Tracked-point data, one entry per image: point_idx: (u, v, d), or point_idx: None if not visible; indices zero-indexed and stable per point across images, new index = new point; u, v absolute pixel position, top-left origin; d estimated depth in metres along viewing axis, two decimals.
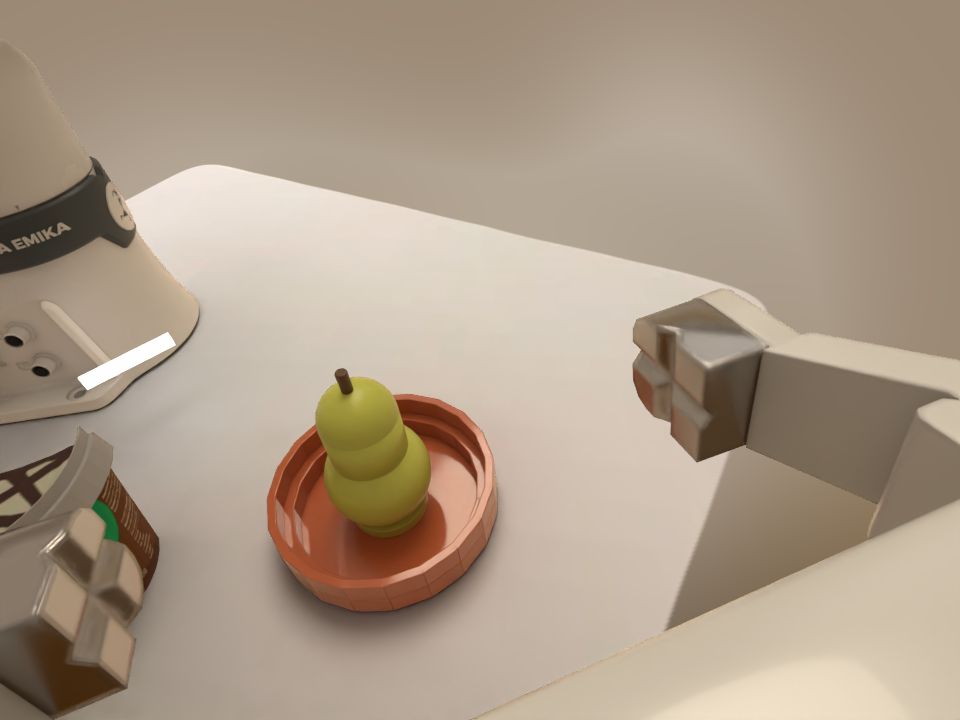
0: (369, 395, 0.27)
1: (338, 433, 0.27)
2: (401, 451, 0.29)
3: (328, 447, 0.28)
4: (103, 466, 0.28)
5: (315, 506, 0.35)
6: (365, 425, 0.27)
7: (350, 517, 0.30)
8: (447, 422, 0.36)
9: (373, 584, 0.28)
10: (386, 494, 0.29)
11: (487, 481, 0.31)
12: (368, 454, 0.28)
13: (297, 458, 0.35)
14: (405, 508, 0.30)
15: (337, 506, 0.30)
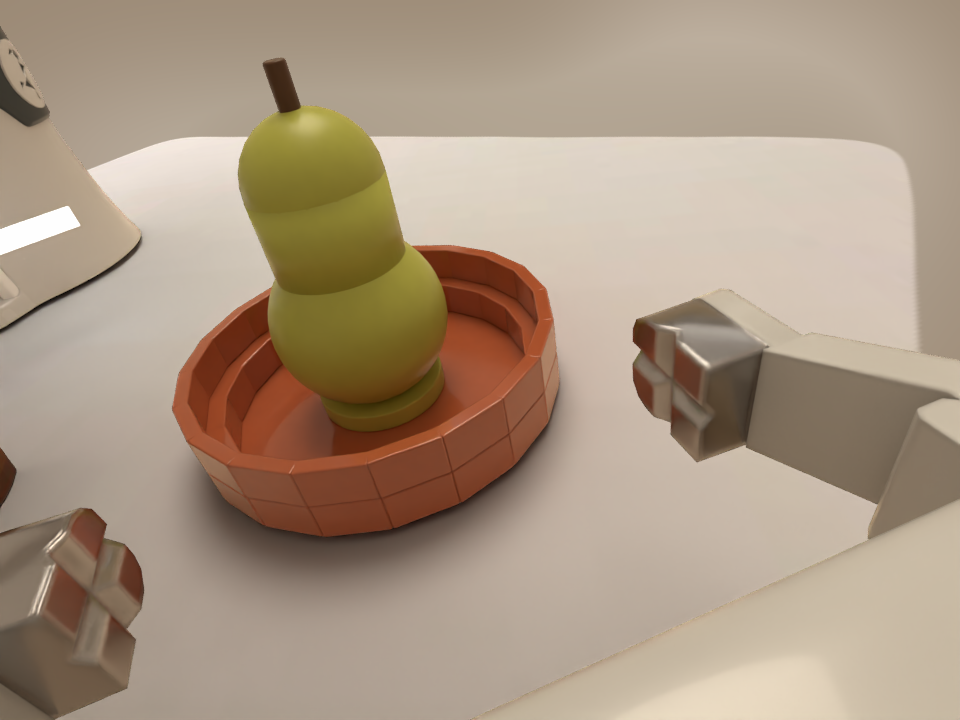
0: (329, 115, 0.15)
1: (273, 173, 0.15)
2: (393, 245, 0.17)
3: (260, 217, 0.15)
4: None
5: (266, 405, 0.22)
6: (322, 156, 0.15)
7: (311, 375, 0.17)
8: (467, 279, 0.24)
9: (349, 462, 0.15)
10: (369, 318, 0.16)
11: (542, 314, 0.19)
12: (331, 223, 0.15)
13: (237, 332, 0.22)
14: (406, 352, 0.17)
15: (288, 358, 0.17)
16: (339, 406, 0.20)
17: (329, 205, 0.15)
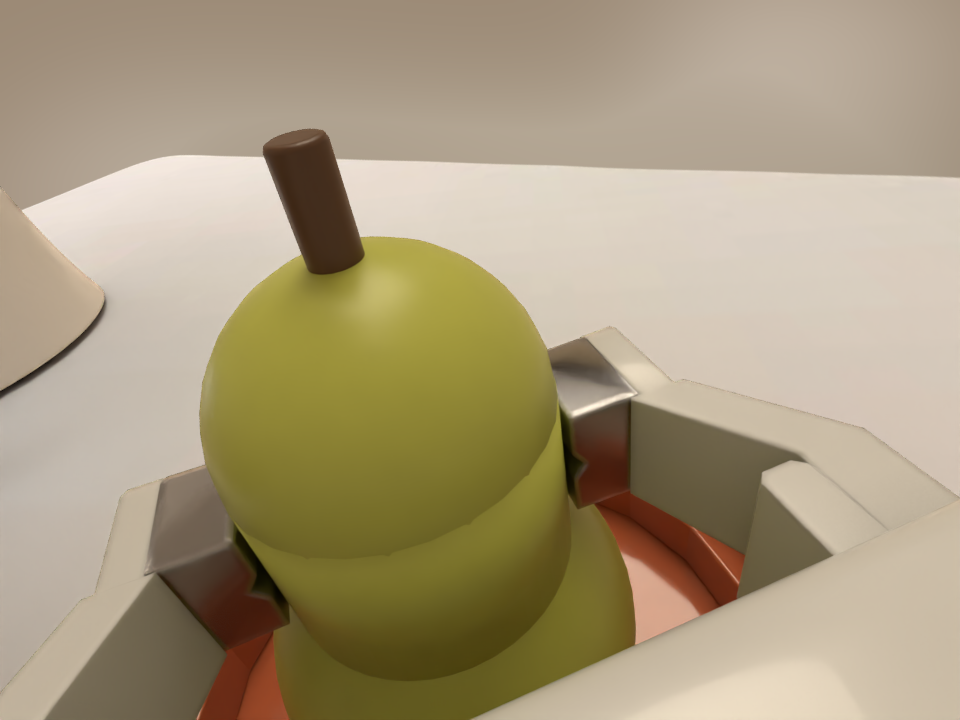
0: (441, 277, 0.06)
1: (293, 467, 0.05)
2: (563, 539, 0.07)
3: (255, 544, 0.06)
4: None
5: (269, 709, 0.12)
6: (434, 415, 0.05)
7: None
8: None
9: None
10: None
11: None
12: (448, 568, 0.06)
13: None
14: None
15: None
16: None
17: (447, 535, 0.05)
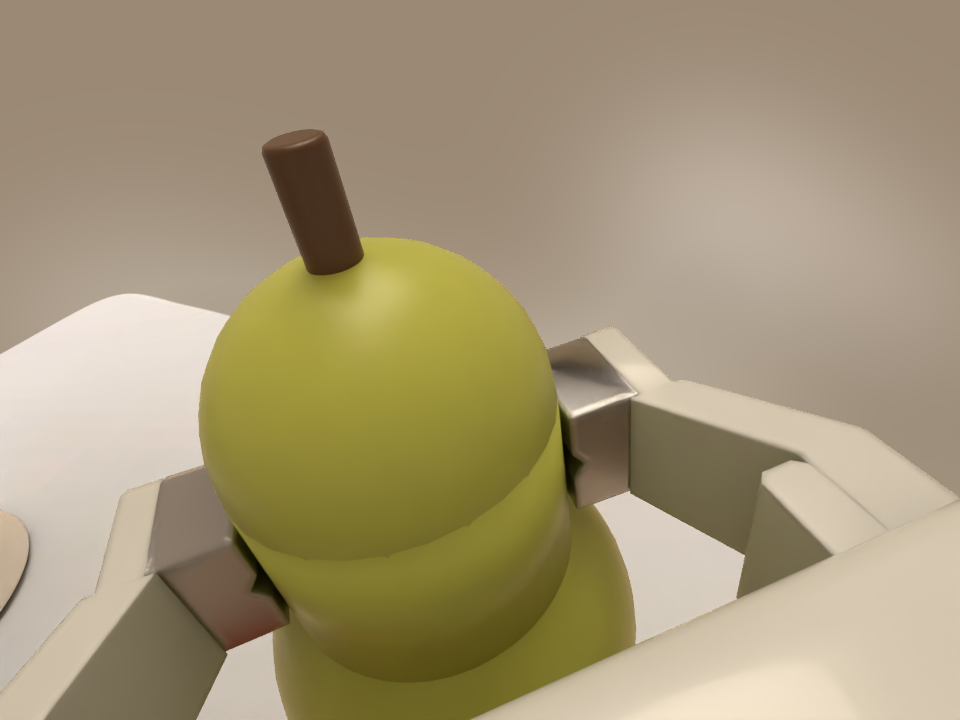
0: (441, 278, 0.06)
1: (292, 469, 0.05)
2: (563, 541, 0.07)
3: (255, 545, 0.06)
4: None
5: None
6: (434, 417, 0.05)
7: None
8: None
9: None
10: None
11: None
12: (448, 570, 0.06)
13: None
14: None
15: None
16: None
17: (447, 537, 0.05)
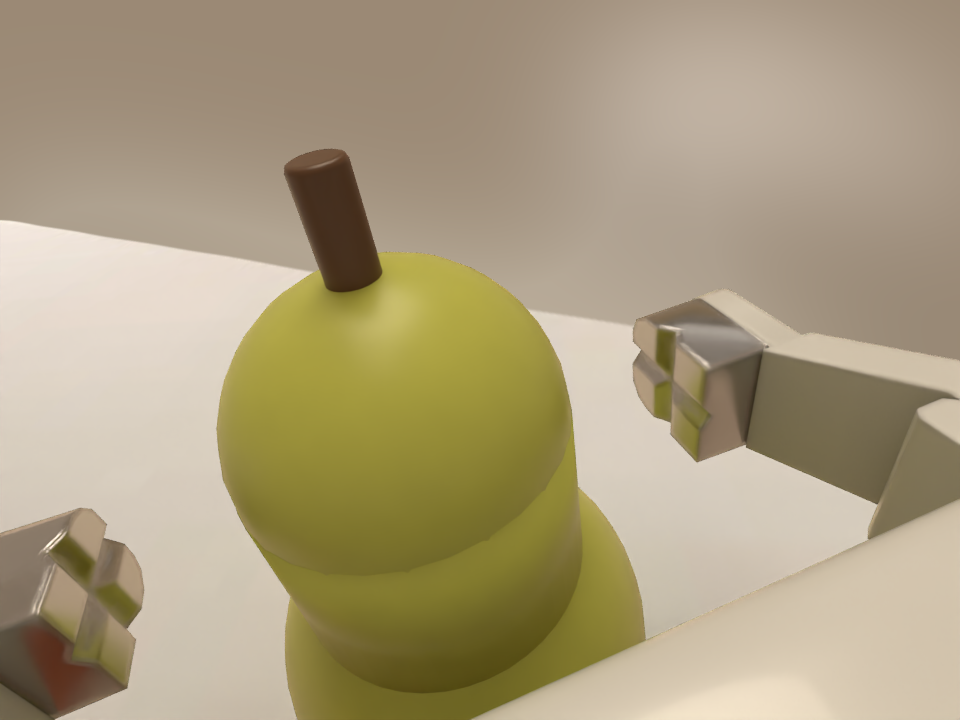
0: (459, 294, 0.06)
1: (314, 485, 0.05)
2: (576, 551, 0.07)
3: (274, 559, 0.06)
4: None
5: None
6: (454, 434, 0.05)
7: None
8: None
9: None
10: None
11: None
12: (466, 583, 0.06)
13: None
14: None
15: None
16: None
17: (466, 552, 0.05)
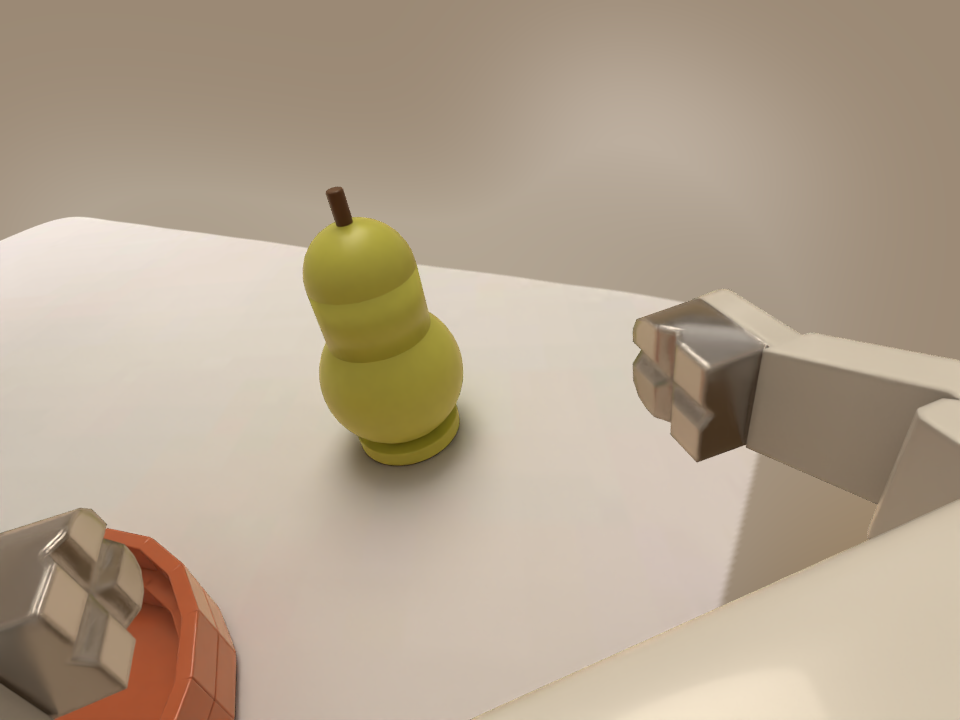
0: (375, 228, 0.20)
1: (333, 276, 0.19)
2: (422, 322, 0.21)
3: (321, 306, 0.20)
4: None
5: None
6: (371, 263, 0.19)
7: (356, 424, 0.22)
8: (169, 581, 0.19)
9: None
10: (404, 380, 0.21)
11: None
12: (377, 311, 0.20)
13: None
14: (431, 406, 0.22)
15: (338, 410, 0.22)
16: (374, 444, 0.24)
17: (375, 299, 0.19)
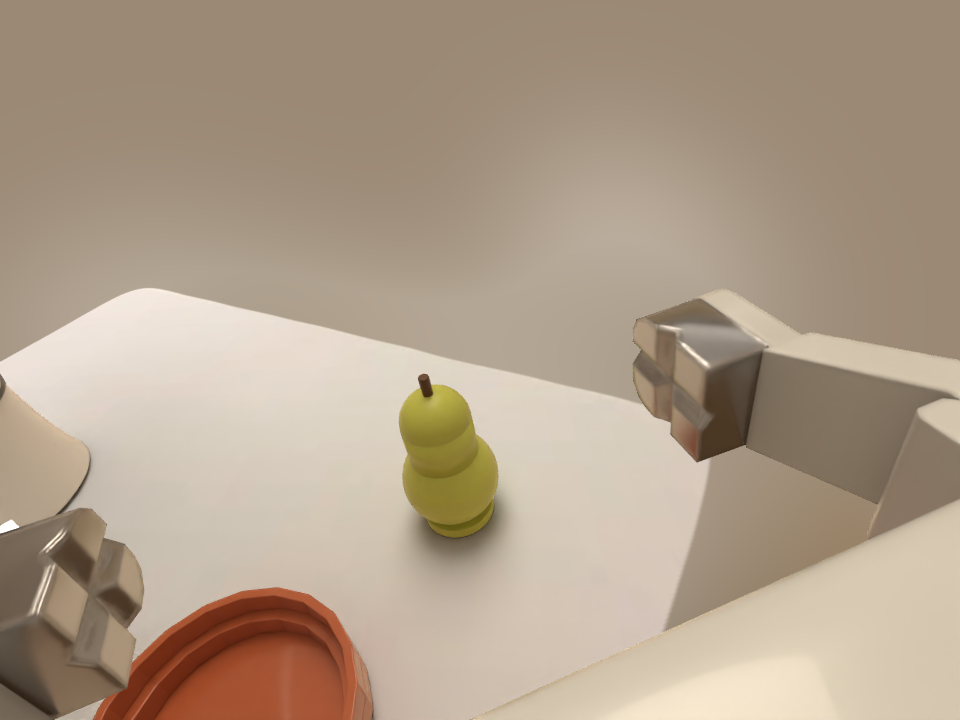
0: (447, 397, 0.31)
1: (423, 431, 0.30)
2: (474, 450, 0.33)
3: (412, 446, 0.31)
4: None
5: None
6: (446, 422, 0.30)
7: (430, 515, 0.33)
8: (321, 622, 0.30)
9: None
10: (463, 489, 0.32)
11: None
12: (448, 450, 0.31)
13: (131, 686, 0.28)
14: (479, 503, 0.33)
15: (418, 505, 0.33)
16: (437, 523, 0.36)
17: (448, 443, 0.31)
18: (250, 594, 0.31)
